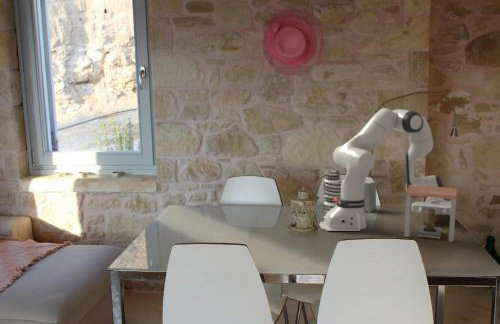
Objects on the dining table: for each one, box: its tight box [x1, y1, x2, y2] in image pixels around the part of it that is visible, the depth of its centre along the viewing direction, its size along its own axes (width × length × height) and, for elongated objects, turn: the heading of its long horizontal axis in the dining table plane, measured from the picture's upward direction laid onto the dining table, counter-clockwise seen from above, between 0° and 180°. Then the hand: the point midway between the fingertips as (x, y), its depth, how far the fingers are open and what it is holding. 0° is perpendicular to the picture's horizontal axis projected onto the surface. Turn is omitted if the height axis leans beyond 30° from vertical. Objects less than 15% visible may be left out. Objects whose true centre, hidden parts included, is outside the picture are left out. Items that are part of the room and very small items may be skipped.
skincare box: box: [364, 180, 377, 213], centre depth 289 cm, size 8×7×16 cm
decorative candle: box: [323, 168, 342, 219], centre depth 274 cm, size 9×9×25 cm
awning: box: [403, 185, 458, 241], centre depth 244 cm, size 15×21×22 cm
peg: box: [425, 209, 436, 232], centre depth 246 cm, size 4×4×12 cm
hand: (432, 212), depth 257 cm, fingers open, 8 cm apart
